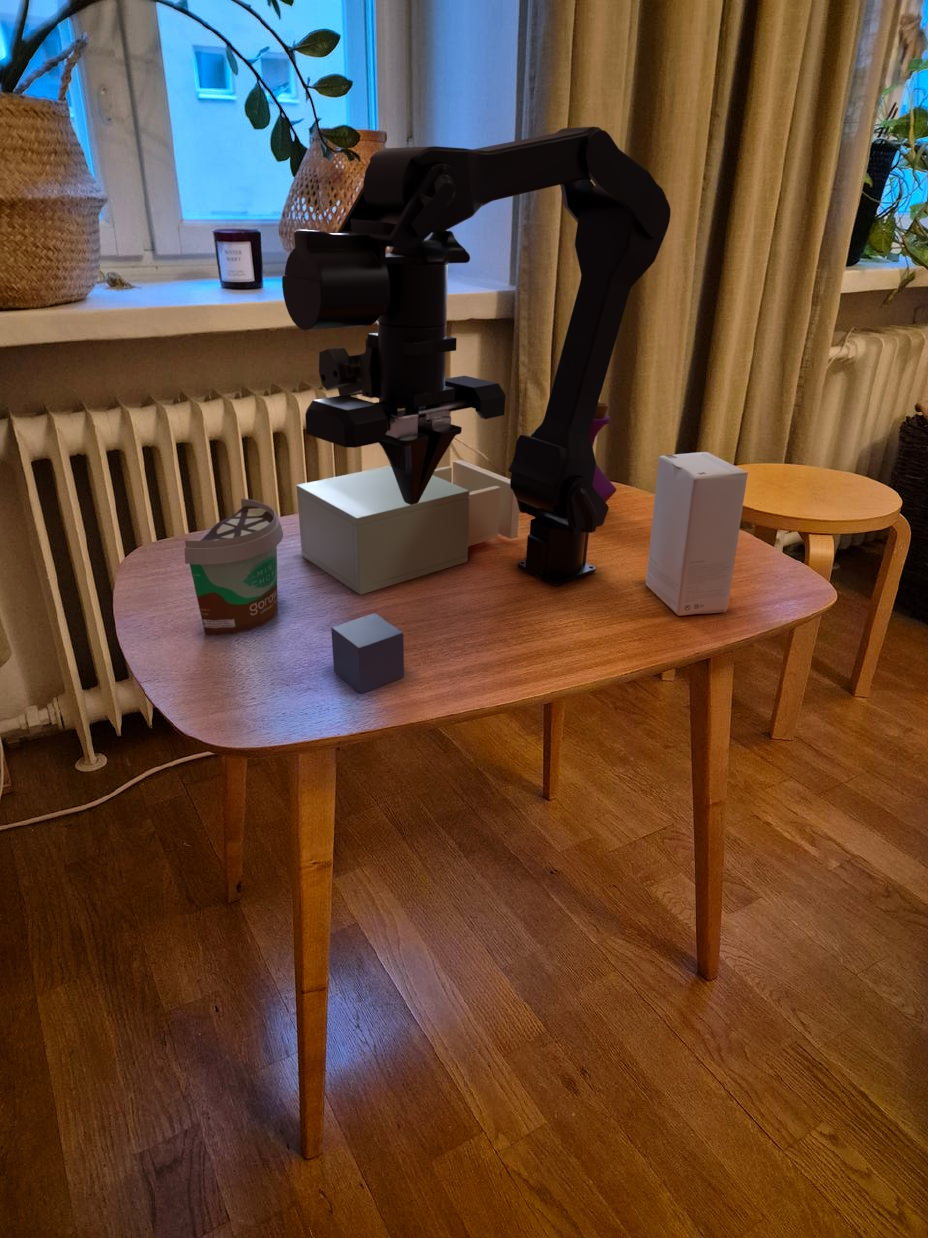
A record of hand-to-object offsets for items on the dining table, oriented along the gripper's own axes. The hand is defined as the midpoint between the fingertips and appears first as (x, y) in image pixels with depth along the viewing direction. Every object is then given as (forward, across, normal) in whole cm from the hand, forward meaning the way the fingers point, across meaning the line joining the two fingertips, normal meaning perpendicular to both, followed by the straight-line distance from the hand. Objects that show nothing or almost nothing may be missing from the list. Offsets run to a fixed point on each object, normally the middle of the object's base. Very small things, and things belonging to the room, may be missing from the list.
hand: (411, 503), depth 73 cm
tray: (+11, -19, -12) cm, 25 cm away
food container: (+13, +10, -12) cm, 20 cm away
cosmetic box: (+12, -25, +16) cm, 32 cm away
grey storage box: (+12, -8, -13) cm, 20 cm away
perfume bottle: (+12, -37, -8) cm, 40 cm away
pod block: (+12, +9, +5) cm, 16 cm away
